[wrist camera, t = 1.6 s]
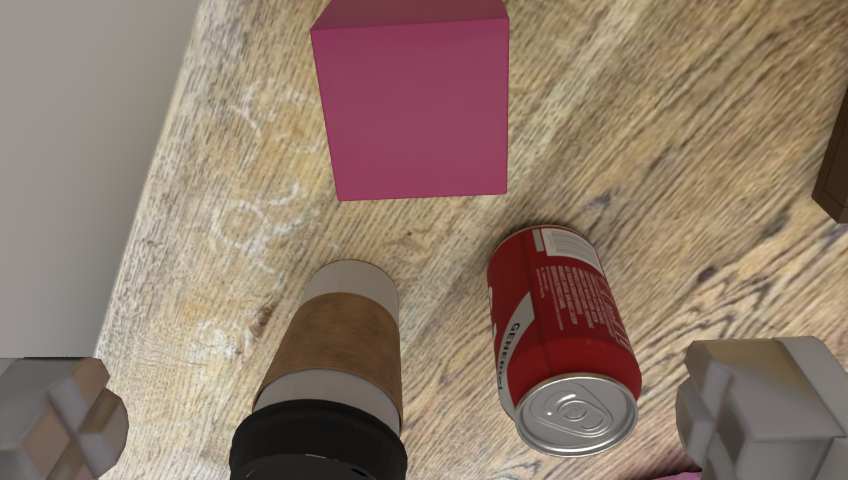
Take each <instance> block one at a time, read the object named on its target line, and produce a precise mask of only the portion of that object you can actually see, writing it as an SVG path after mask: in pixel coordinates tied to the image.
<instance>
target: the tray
mask: <svg viewBox="0 0 848 480" xmlns="http://www.w3.org/2000/svg"><path fill="white" fill-rule="evenodd" d="M812 199H813V200H814V201H815V202H816V203H817V204H819V206H820V207H821V208H822V209H823V210H824V211H825V212H827V213H828V214H829V215H830V216H831V217H832V218H833V219H834V220H835V221H836V222H837V223H848V89H847V92H846V95H845V98H844V101H843V104H842V107H841V110H840V113H839V116H838V119H837V122H836V125H835V128H834V131H833V134H832V137H831V140H830V143H829V146H828V149H827V152H826V155H825V158H824V161H823V164H822V167H821V170H820V173H819V176H818V179H817V182H816V185H815V188H814V191H813V194H812Z"/></svg>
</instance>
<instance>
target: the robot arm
mask: <svg viewBox="0 0 848 480" xmlns="http://www.w3.org/2000/svg"><path fill="white" fill-rule="evenodd" d="M684 363H685V365H686V367H687V370H688V372H689V374H690V377H689V378H688V379H686V380H685V381H684V382H683V383H682V384H681V385H679V387H678V392H677V398H676V403H675V407H676V424H677V428H678V433H679V437H680V440H681V443H682V446H683V448H684V451H685V454H686V456H687V457H688V458H690V459H691V460H692V461H693V462H695V463H696V464H697V465H698V466H700V467H701V468H702V469H703V470H702V473H701V477H700V480H848V373H847V372H846V371H845V370H844V368H843V367H842V366H841V364H840V363H839V362H838V360H837V359H836V358H835V357H834V355H833V354H832V353H831V351H830V350H829V349H828V348H827V346H826V345H825V344H824V343H823V342H822V341H821V340H819V339H818V338H816V337H814V336H799V337H774V338H771V339H769V338H755V339H727V340H698V341H693V342H692V343H691V345H690V346H689V347H688V349H687V353H686V357H685V361H684ZM109 379H110V375H109V373H108V371H107V369H106V367H105V366H104V364H103V362H102V360H101V359H96V358H92V357H24V358H0V480H98V478H99V477H101V476H102V475H103V474H104V473H106V472H107V471H108V470H109V469H111V468H112V467H113V466H115V465H116V464H117V462H118V460H119V458H120V456H121V454H122V452H123V450H124V448H125V445H126V440H127V434H128V429H129V421H128V414H127V410H126V407H125V405H124V403H123V401H122V399H121V398H120V397H119V396H117V395H116V394H114V393H113V392H111V391H110V390H108V389H107V388H106V385H107V383H108V381H109Z"/></svg>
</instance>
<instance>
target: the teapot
mask: <svg viewBox="0 0 848 480" xmlns="http://www.w3.org/2000/svg"><path fill="white" fill-rule="evenodd" d="M701 473H702V472H697V473H688V472H684V473H681V474H679V475H673V476H668V477H663V478H658V479H653V480H700V477H701Z"/></svg>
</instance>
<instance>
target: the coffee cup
mask: <svg viewBox="0 0 848 480" xmlns="http://www.w3.org/2000/svg"><path fill="white" fill-rule="evenodd" d="M402 430H403V406H402V382H401V359H400V335H399V304H398V293H397V289H396V287H395V285H394V283H393V281H392V280H391V279H390V277H389V276H388V275H387V274H386V273H385V272H383V271H382V270H381V269H379V268H377V267H376V266H374V265H372V264H369V263H366V262H362V261H357V260H342V261H336V262H333V263H330V264H328V265H326V266H324V267H322V268H321V269H320V270H318V271H317V272H316V273H315V274H314V276H313V277H312V278H311V280H310V282H309V285H308V287H307V289H306V291H305V294H304V296H303V298H302V301H301V303H300V305H299V308H298V310H297V312H296V313H295V315H294V317H293V319H292V321H291V323H290V325H289V327H288V329H287V331H286V333H285V336H284V338H283V340H282V342H281V344H280V346H279V348H278V350H277V352H276V354H275V356H274V358H273V361H272V363H271V365H270V367H269V369H268V371H267V373H266V375H265V377H264V379H263V381H262V384H261V386H260V388H259V390H258V392H257V394H256V396H255V399H254V401H253V406H252V414H251V415H249V416H248V417H247V418H245V419H244V420H243V421H242V423H241V424H240V425H239V426H238V428H237V429H236V431H235V434H234V436H233V439H232V447H231V450H230V456H229V466H230V470H231V475H230V480H405V478H406V470H407V454H406V451H405V447H404V445H403V444H402V442H401V440H400V436H401V433H402Z"/></svg>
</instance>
